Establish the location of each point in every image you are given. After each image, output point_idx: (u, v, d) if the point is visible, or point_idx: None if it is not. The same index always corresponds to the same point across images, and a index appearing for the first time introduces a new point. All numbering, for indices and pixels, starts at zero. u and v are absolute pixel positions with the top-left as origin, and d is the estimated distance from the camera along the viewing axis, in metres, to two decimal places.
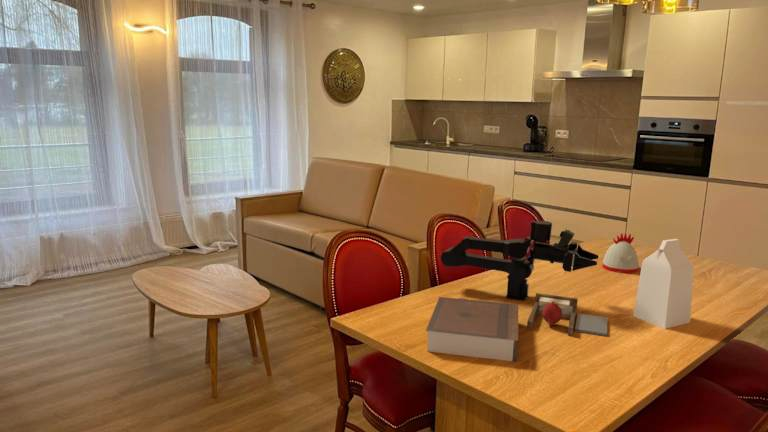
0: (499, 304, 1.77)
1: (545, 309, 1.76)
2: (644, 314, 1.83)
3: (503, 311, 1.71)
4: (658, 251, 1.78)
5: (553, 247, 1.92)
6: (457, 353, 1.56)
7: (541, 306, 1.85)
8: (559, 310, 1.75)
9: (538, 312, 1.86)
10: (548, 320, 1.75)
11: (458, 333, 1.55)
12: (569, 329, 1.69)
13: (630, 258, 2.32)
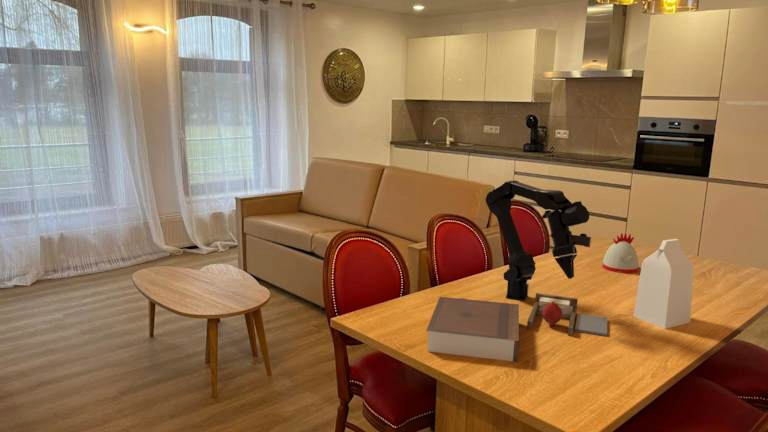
0: (499, 304, 1.77)
1: (545, 309, 1.76)
2: (644, 314, 1.83)
3: (503, 311, 1.71)
4: (658, 251, 1.78)
5: (568, 232, 1.80)
6: (457, 353, 1.56)
7: (541, 306, 1.85)
8: (559, 310, 1.75)
9: (538, 312, 1.86)
10: (548, 320, 1.75)
11: (459, 333, 1.55)
12: (569, 329, 1.69)
13: (630, 258, 2.32)
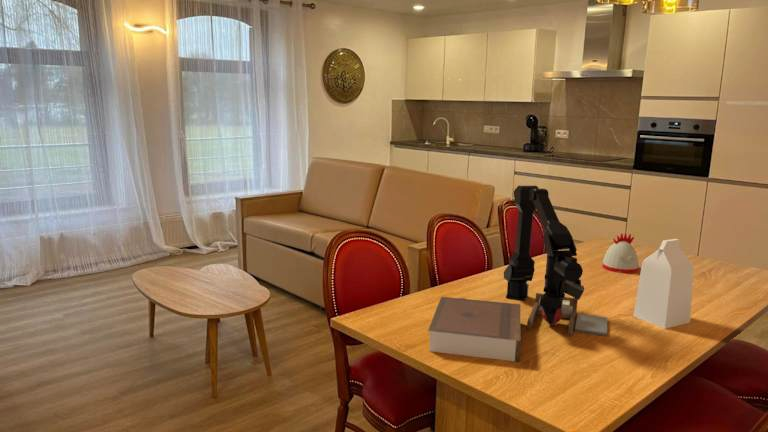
0: (501, 304, 1.77)
1: None
2: (644, 314, 1.83)
3: (505, 311, 1.71)
4: (658, 251, 1.78)
5: (563, 279, 1.71)
6: (459, 353, 1.56)
7: (541, 306, 1.85)
8: (559, 310, 1.75)
9: (538, 312, 1.86)
10: None
11: (460, 333, 1.55)
12: (569, 329, 1.69)
13: (630, 258, 2.32)
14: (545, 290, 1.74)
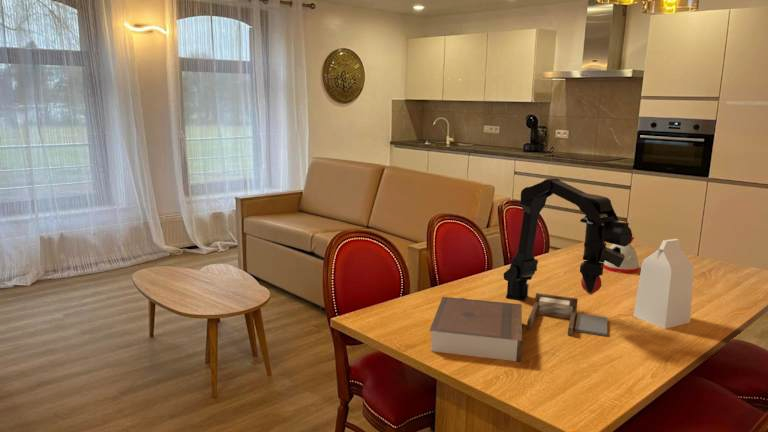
0: (502, 304, 1.77)
1: None
2: (644, 314, 1.83)
3: (506, 311, 1.71)
4: (658, 251, 1.78)
5: (603, 246, 1.69)
6: (461, 353, 1.56)
7: (541, 306, 1.85)
8: (599, 278, 1.73)
9: (538, 312, 1.86)
10: None
11: (462, 333, 1.55)
12: (569, 329, 1.69)
13: (630, 258, 2.32)
14: (584, 258, 1.72)
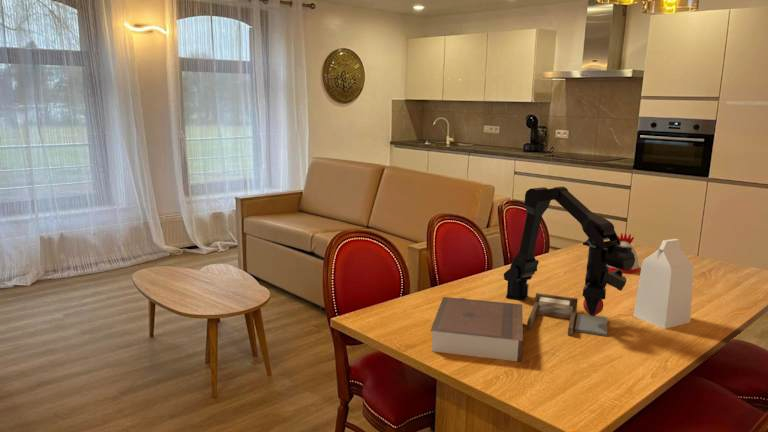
0: (503, 304, 1.77)
1: None
2: (644, 314, 1.83)
3: (507, 311, 1.71)
4: (658, 251, 1.78)
5: (606, 270, 1.71)
6: (462, 353, 1.56)
7: (541, 306, 1.85)
8: (601, 301, 1.75)
9: (538, 312, 1.86)
10: None
11: (463, 333, 1.55)
12: (569, 329, 1.69)
13: None
14: (587, 281, 1.73)
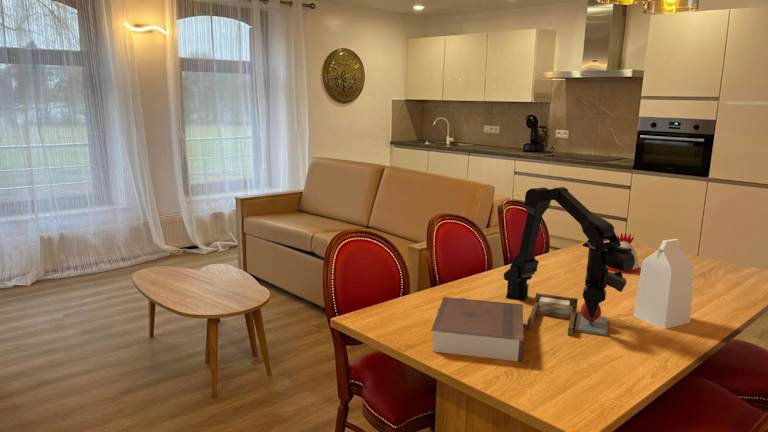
0: (503, 304, 1.77)
1: (583, 307, 1.76)
2: (644, 314, 1.83)
3: (507, 311, 1.71)
4: (658, 251, 1.78)
5: (606, 271, 1.71)
6: (462, 353, 1.56)
7: (541, 306, 1.85)
8: None
9: (538, 312, 1.86)
10: (588, 317, 1.75)
11: (463, 333, 1.55)
12: (569, 329, 1.69)
13: None
14: (587, 282, 1.74)
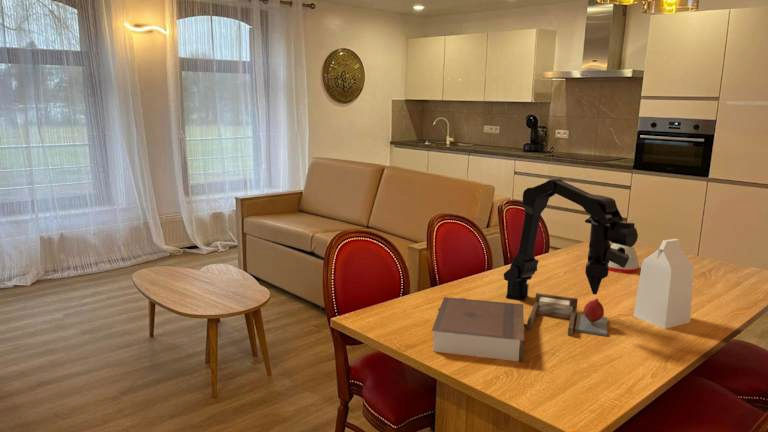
0: (504, 304, 1.77)
1: (588, 306, 1.76)
2: (644, 314, 1.83)
3: (508, 311, 1.71)
4: (658, 251, 1.78)
5: (608, 247, 1.69)
6: (463, 353, 1.56)
7: (541, 306, 1.85)
8: (602, 308, 1.75)
9: (538, 312, 1.86)
10: (590, 317, 1.75)
11: (464, 333, 1.55)
12: (569, 329, 1.69)
13: (630, 258, 2.32)
14: (589, 258, 1.72)
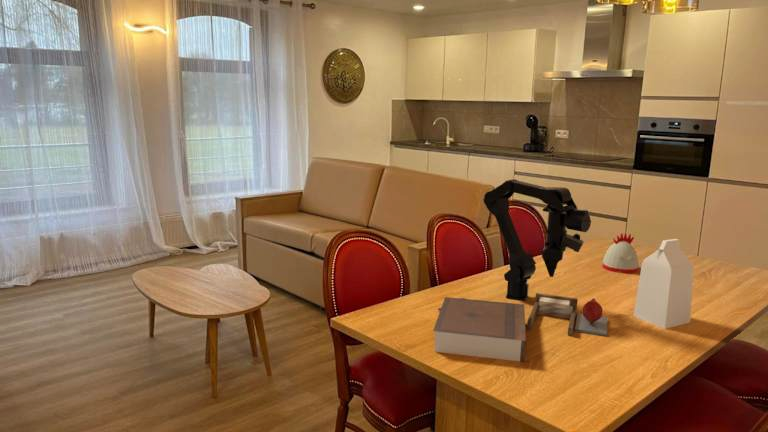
0: (505, 304, 1.77)
1: (585, 307, 1.76)
2: (644, 314, 1.83)
3: (509, 311, 1.71)
4: (658, 251, 1.78)
5: (563, 233, 1.84)
6: (464, 353, 1.56)
7: (541, 306, 1.85)
8: (600, 308, 1.75)
9: (538, 312, 1.86)
10: (589, 318, 1.75)
11: (466, 333, 1.55)
12: (569, 329, 1.69)
13: (630, 258, 2.32)
14: (547, 244, 1.87)
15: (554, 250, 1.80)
